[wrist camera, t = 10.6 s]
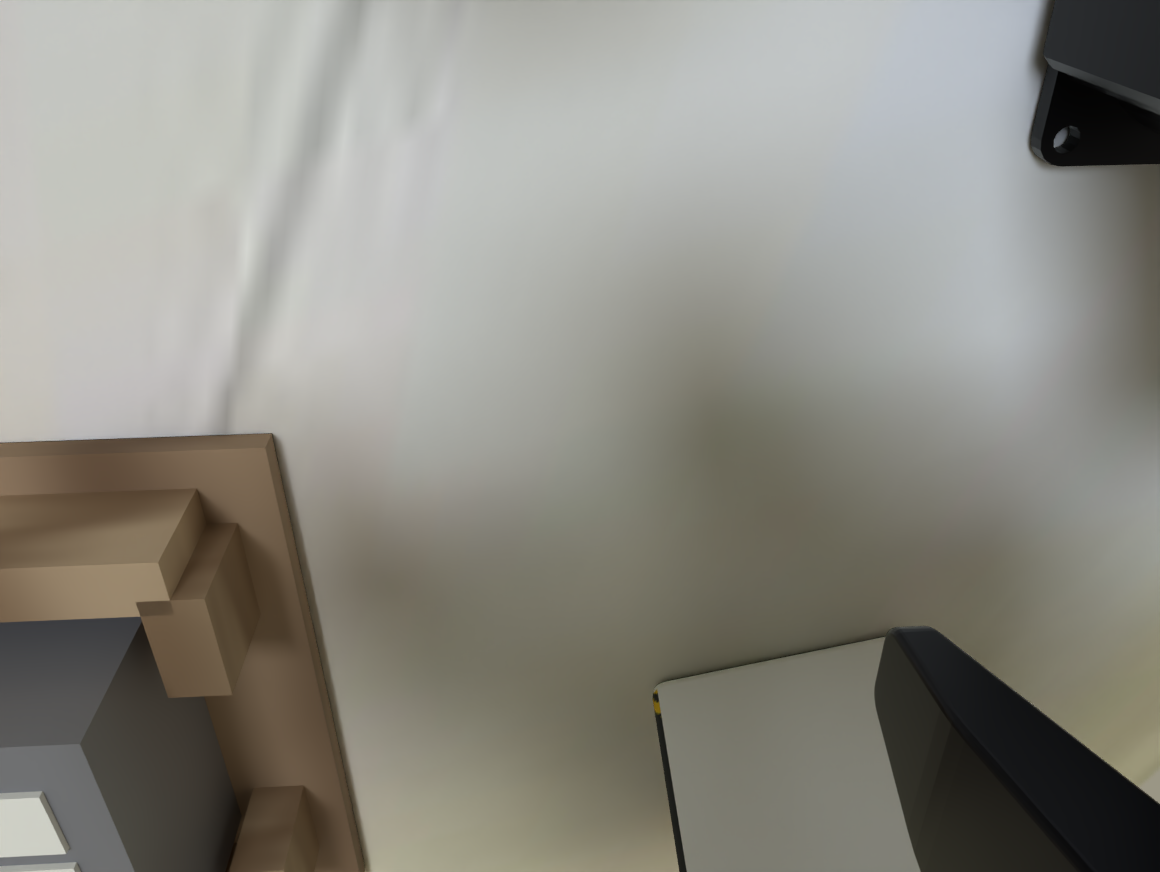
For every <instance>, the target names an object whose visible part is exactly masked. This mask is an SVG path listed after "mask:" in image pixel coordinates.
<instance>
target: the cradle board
mask: <svg viewBox="0 0 1160 872" xmlns="http://www.w3.org/2000/svg"><path fill="white" fill-rule="evenodd" d="M118 617H141V620H142V623H143V626H144V629H145V632H146V634H147V637H148V640H149V643H150V646H151V649H152V652H153V655H154V658H155V661H156V664H157V666H158V669H159V672H160V675H161V678H162V681H163V684H164V687H165V690H166V693H167V696H168V698H178V697H200V696H204V698H205V701H206V705H207V708H208V711H209V714H210V717H211V720H212V724H213V727H214V730H215V733H216V736H217V740H218V743H219V746H220V749H221V752H222V755H223V759H224V762H225V765H226V768H227V771H228V774H229V778H230V781H231V784H232V787H233V790H234V794H235V797H236V800H237V803H238V806H239V809H240V813H241V816H242V817H241V820H240V824H239V827H238V831H237V834H236V837H235V841H234V844H233V847H232V851H231V854H230V858H229V861H228V864H227V868H226V871H225V872H364V871H365V865H364V861H363V856H362V851H361V847H360V842H359V838H358V833H357V828H356V824H355V819H354V814H353V810H352V805H351V800H350V796H349V791H348V786H347V782H346V777H345V772H344V768H343V763H342V759H341V754H340V749H339V745H338V740H337V735H336V731H335V726H334V721H333V717H332V712H331V707H330V703H329V698H328V694H327V689H326V684H325V680H324V675H323V670H322V666H321V661H320V656H319V652H318V647H317V642H316V638H315V633H314V628H313V624H312V619H311V615H310V610H309V605H308V601H307V596H306V591H305V587H304V582H303V577H302V573H301V568H300V563H299V559H298V554H297V549H296V545H295V540H294V536H293V531H292V526H291V522H290V517H289V512H288V508H287V503H286V498H285V494H284V489H283V484H282V480H281V475H280V471H279V466H278V461H277V457H276V452H275V447H274V443H273V438H272V434H246V435H218V436H189V437H161V438H132V439H104V440H75V441H47V442H18V443H0V622H23V621H47V620H71V619H94V618H118Z"/></svg>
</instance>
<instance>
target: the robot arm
mask: <svg viewBox="0 0 1160 872" xmlns="http://www.w3.org/2000/svg"><path fill="white" fill-rule="evenodd" d="M1043 54H1044V57H1045V58H1046V60H1047V61H1048V63H1049V64H1048V68H1047V72H1046V76H1045V81H1044V85H1043V89H1042V93H1041V97H1040V101H1039V106H1038V110H1037V114H1036V118H1035V122H1034V127H1033V131H1032V135H1031V147H1032V149H1033V151H1034V154H1036V155H1037V156H1038V157H1039V158H1041V159H1042V160H1044V161H1046V162H1047V163H1049V164H1051V165H1056V166H1088V165H1129V164H1160V0H1055V4H1054V8H1053V12H1052V17H1051V21H1050V25H1049V30H1048V34H1047V38H1046V42H1045V47H1044V52H1043ZM1068 126H1069V127H1070V135H1069V137H1068V139H1067V141H1066V142H1065V143H1063V144H1062V145H1061V146H1059V147H1056V148H1054V138H1055V136H1056V134H1057V133H1058V132H1059V131H1060V130H1061V129H1063V128H1065V127H1068ZM874 699H875V707H876V711H877V715H878V719H879V723H880V727H881V730H882V734H883V738H884V742H885V746H886V750H887V753H888V757H889V761H890V765H891V769H892V773H893V777H894V780H895V784H896V788H897V792H898V796H899V800H900V803H901V807H902V811H903V815H904V819H905V823H906V826H907V830H908V834H909V837H910V841H911V844H912V848H913V851H914V854H915V857H916V860H917V863H918V866H919V869H920V871H921V872H1160V804H1159V803H1158V802H1157V801H1155V800H1154V799H1153V798H1152V797H1150V796H1149V795H1148V794H1146V793H1145V792H1144V791H1143V790H1141V789H1140V788H1139V787H1137V786H1136V785H1135V784H1134V783H1132V782H1131V781H1130V780H1128V779H1127V778H1126V777H1125V776H1123V775H1122V774H1121V773H1119V772H1118V771H1117V770H1116V769H1114V768H1113V767H1112V766H1110V765H1109V764H1108V763H1107V762H1105V761H1104V760H1103V759H1101V758H1100V757H1099V756H1098V755H1096V754H1095V753H1094V752H1092V751H1091V750H1090V749H1089V748H1087V747H1086V746H1085V745H1083V744H1082V743H1081V742H1080V741H1078V740H1077V739H1076V738H1074V737H1073V736H1072V735H1071V734H1069V733H1068V732H1067V731H1066V730H1064V729H1063V728H1062V727H1060V726H1059V725H1058V724H1057V723H1055V722H1054V721H1053V720H1051V719H1050V718H1049V717H1048V716H1046V715H1045V714H1044V713H1042V712H1041V711H1040V710H1039V709H1037V708H1036V707H1035V706H1033V705H1032V704H1031V703H1030V702H1028V701H1027V700H1026V699H1024V698H1023V697H1022V696H1021V695H1019V694H1018V693H1017V692H1015V691H1014V690H1013V689H1012V688H1010V687H1009V686H1008V685H1006V684H1005V683H1004V682H1003V681H1001V680H1000V679H999V678H997V677H996V676H995V675H994V674H992V673H991V672H990V671H988V670H987V669H986V668H985V667H983V666H982V665H981V664H979V663H978V662H977V661H976V660H974V659H973V658H972V657H971V656H969V655H968V654H967V653H965V652H964V651H963V650H962V649H960V648H959V647H958V646H956V645H955V644H954V643H953V642H951V641H950V640H949V639H947V638H946V637H945V636H944V635H942V634H941V633H940V632H938V631H937V630H935V629H933V628H931V627H928V626H912V627H895V628H892V629H891V630H889V632H888V633H887V635H886V637H885V640H884V645H883V649H882V654H881V658H880V663H879V668H878V672H877V677H876V681H875V687H874Z"/></svg>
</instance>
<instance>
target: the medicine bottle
mask: <svg viewBox="0 0 1160 872" xmlns="http://www.w3.org/2000/svg"><path fill="white" fill-rule="evenodd" d="M884 640H885V637H881V638H876V639H871V640H866V641H862V642H857V643H852V644H847V645H842V646H837V647H832V648H827V649H823V650H818V651H813V652H808V653H803V654H798V655H793V656H788V657H783V658H779V659H774V660H769V661H764V662H759V663H754V664H749V665H744V666H740V667H735V668H730V669H725V670H720V671H715V672H710V673H705V674H700V675H696V676H691V677H686V678H681V679H676V680H671V681H666V682H662V683H660V684H658V685H657V686H656V687H655V688H654V692H653V704H654V710H655V717H656V723H657V730H658V736H659V743H660V749H661V755H662V762H663V768H664V775H665V781H666V788H667V794H668V801H669V807H670V813H671V820H672V826H673V833H674V839H675V846H676V852H677V859H678V865H679V872H921V871H920V869H919V866H918V863H917V860H916V857H915V854H914V851H913V848H912V844H911V841H910V837H909V834H908V830H907V826H906V823H905V819H904V815H903V811H902V807H901V803H900V800H899V796H898V792H897V788H896V784H895V780H894V777H893V773H892V769H891V765H890V761H889V757H888V753H887V750H886V746H885V742H884V738H883V734H882V730H881V727H880V723H879V719H878V715H877V711H876V707H875V699H874V687H875V681H876V677H877V672H878V668H879V663H880V658H881V654H882V649H883V645H884Z"/></svg>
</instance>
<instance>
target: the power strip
mask: <svg viewBox="0 0 1160 872" xmlns="http://www.w3.org/2000/svg"><path fill="white" fill-rule="evenodd" d="M241 817H242V816H241V813H240V809H239V806H238V803H237V800H236V797H235V794H234V790H233V787H232V784H231V781H230V778H229V774H228V771H227V768H226V765H225V762H224V759H223V755H222V752H221V749H220V746H219V743H218V740H217V736H216V733H215V730H214V727H213V724H212V720H211V717H210V714H209V711H208V708H207V705H206V701H205V698H204V696H200V697H178V698H168V696H167V693H166V690H165V687H164V684H163V681H162V678H161V675H160V672H159V669H158V666H157V664H156V661H155V658H154V655H153V652H152V649H151V646H150V643H149V640H148V637H147V634H146V632H145V629H144V626H143V623H142V620H141V617H118V618H94V619H71V620H47V621H23V622H0V872H225V871H226V868H227V864H228V861H229V858H230V854H231V851H232V847H233V844H234V841H235V837H236V834H237V831H238V827H239V824H240V820H241Z"/></svg>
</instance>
